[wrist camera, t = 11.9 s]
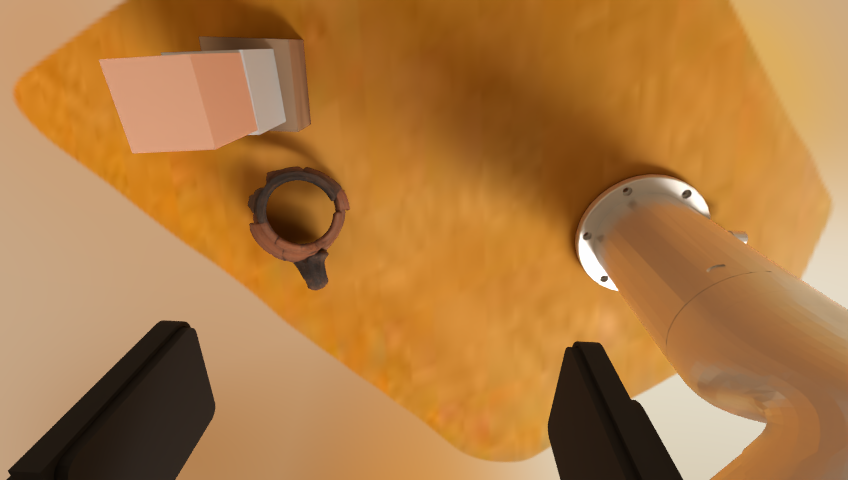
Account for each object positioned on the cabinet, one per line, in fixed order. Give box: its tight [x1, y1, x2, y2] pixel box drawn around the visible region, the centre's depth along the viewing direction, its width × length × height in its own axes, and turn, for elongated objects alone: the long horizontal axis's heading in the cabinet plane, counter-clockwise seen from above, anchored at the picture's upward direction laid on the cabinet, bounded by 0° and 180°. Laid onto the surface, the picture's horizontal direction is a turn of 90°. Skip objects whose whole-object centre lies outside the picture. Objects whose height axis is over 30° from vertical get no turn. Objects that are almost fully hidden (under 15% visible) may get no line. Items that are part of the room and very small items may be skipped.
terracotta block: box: [99, 53, 258, 153], centre depth 25 cm, size 5×5×6 cm
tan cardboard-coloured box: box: [199, 37, 311, 132], centre depth 35 cm, size 7×7×4 cm
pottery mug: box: [248, 167, 350, 290], centre depth 40 cm, size 12×10×8 cm
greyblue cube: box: [161, 49, 286, 135], centre depth 30 cm, size 6×6×6 cm
